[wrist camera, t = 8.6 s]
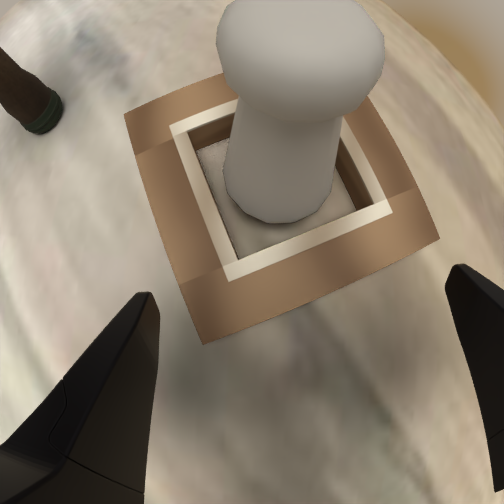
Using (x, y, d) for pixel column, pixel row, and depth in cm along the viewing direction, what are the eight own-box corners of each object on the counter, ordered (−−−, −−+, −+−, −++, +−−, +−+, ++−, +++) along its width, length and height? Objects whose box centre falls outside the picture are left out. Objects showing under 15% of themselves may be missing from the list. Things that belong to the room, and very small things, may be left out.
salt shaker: (227, 232, 18) (158, 111, 5) (227, 142, 19) (189, -37, 6) (328, 230, 18) (455, 122, 5) (320, 141, 18) (387, -28, 6)
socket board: (210, 336, 17) (202, 345, 15) (137, 132, 19) (122, 112, 16) (420, 244, 18) (442, 238, 15) (325, 66, 19) (331, 43, 16)
